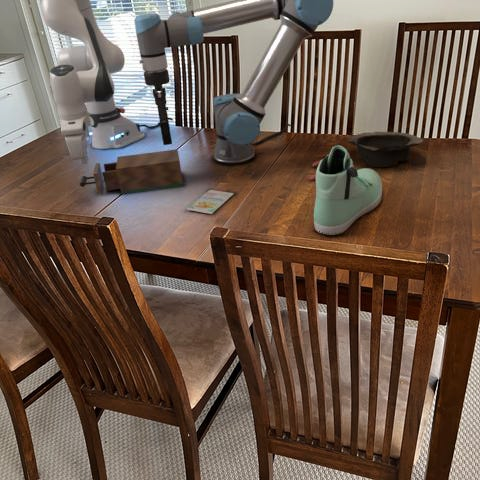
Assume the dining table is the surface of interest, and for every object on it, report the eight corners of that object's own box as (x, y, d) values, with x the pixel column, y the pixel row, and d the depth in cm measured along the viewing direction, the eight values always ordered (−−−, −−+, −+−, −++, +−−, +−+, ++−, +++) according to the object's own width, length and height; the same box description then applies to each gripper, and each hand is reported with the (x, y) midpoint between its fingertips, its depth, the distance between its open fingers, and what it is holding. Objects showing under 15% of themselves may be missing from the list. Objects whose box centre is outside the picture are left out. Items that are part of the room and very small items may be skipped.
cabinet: (121, 194, 158) (115, 168, 154) (122, 181, 167) (117, 156, 163) (183, 185, 160) (179, 160, 156) (181, 173, 170) (177, 149, 165)
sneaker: (389, 187, 148) (396, 123, 138) (356, 242, 123) (361, 168, 112) (346, 181, 154) (350, 119, 144) (306, 232, 129) (307, 161, 118)
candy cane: (296, 178, 159) (296, 174, 158) (317, 162, 169) (317, 158, 168) (312, 182, 156) (312, 178, 155) (333, 165, 166) (333, 161, 165)
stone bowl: (380, 178, 154) (381, 150, 149) (333, 160, 174) (332, 135, 170) (437, 159, 162) (439, 132, 158) (385, 144, 183) (386, 120, 178)
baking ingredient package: (185, 208, 144) (210, 188, 156) (186, 209, 145) (210, 190, 156) (211, 213, 141) (234, 192, 152) (211, 214, 141) (234, 193, 152)
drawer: (81, 196, 157) (76, 176, 153) (84, 184, 165) (79, 165, 161) (156, 185, 160) (153, 166, 156) (155, 174, 168) (152, 155, 164)
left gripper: (69, 112, 157) (79, 152, 165) (59, 132, 140) (71, 175, 147) (88, 110, 158) (98, 150, 165) (81, 129, 141) (92, 173, 148)
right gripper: (143, 63, 156) (154, 127, 167) (143, 80, 135) (156, 152, 146) (166, 60, 157) (176, 124, 168) (169, 77, 135) (180, 148, 146)
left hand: (85, 162), depth 156 cm, fingers closed
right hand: (166, 137), depth 157 cm, fingers open, 13 cm apart
